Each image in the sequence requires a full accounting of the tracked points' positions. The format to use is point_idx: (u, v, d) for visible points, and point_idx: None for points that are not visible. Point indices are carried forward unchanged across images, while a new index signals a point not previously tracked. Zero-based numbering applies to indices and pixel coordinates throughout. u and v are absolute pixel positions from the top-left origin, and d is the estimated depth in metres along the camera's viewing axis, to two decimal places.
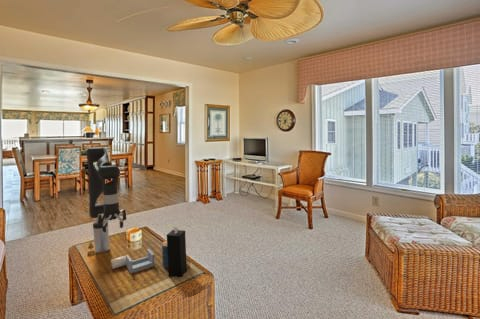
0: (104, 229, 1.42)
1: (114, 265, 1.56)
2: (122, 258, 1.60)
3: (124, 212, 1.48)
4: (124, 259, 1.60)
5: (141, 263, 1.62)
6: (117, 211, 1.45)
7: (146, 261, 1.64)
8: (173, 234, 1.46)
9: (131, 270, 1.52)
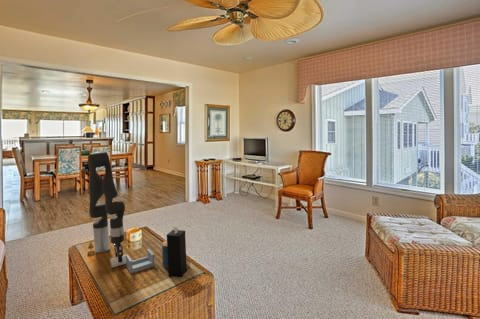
0: (121, 258, 1.57)
1: (113, 260, 1.58)
2: None
3: None
4: None
5: (141, 263, 1.62)
6: None
7: (146, 261, 1.64)
8: (173, 234, 1.46)
9: (131, 270, 1.52)
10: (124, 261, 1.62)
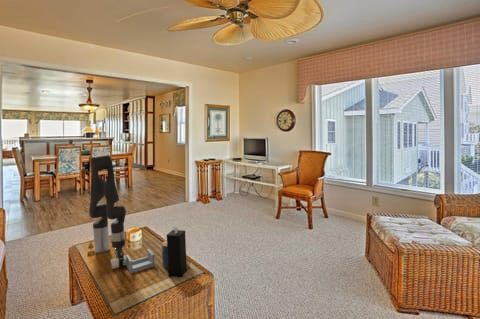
0: (122, 263, 1.58)
1: (113, 262, 1.56)
2: None
3: None
4: None
5: (141, 263, 1.62)
6: None
7: (146, 261, 1.64)
8: (173, 234, 1.46)
9: (131, 270, 1.52)
10: (125, 263, 1.60)
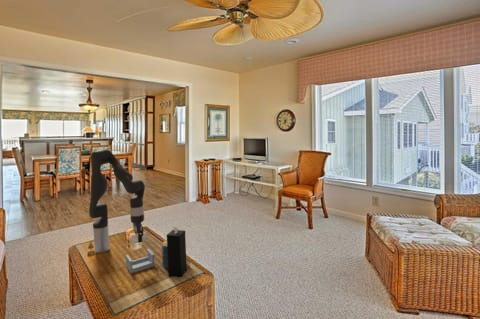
0: (141, 239, 1.56)
1: (133, 238, 1.54)
2: None
3: None
4: None
5: (141, 263, 1.62)
6: None
7: (146, 261, 1.64)
8: (173, 234, 1.46)
9: (131, 270, 1.52)
10: (144, 239, 1.58)
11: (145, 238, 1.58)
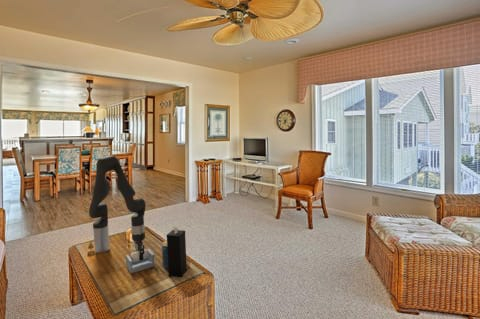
0: (142, 257, 1.57)
1: (134, 256, 1.55)
2: None
3: None
4: None
5: (141, 263, 1.62)
6: None
7: (146, 261, 1.64)
8: (173, 234, 1.46)
9: (131, 270, 1.52)
10: (145, 257, 1.59)
11: (146, 256, 1.59)
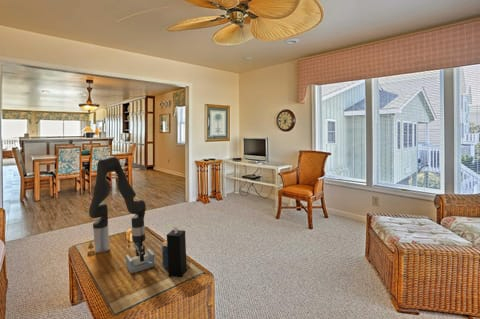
0: (143, 258, 1.56)
1: (134, 261, 1.56)
2: None
3: None
4: None
5: None
6: None
7: None
8: (173, 234, 1.46)
9: (131, 270, 1.52)
10: (145, 262, 1.59)
11: (146, 261, 1.60)
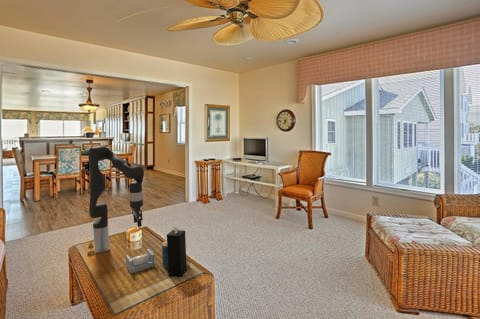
0: (141, 223, 1.57)
1: (134, 261, 1.56)
2: (141, 255, 1.60)
3: None
4: (143, 256, 1.60)
5: None
6: None
7: None
8: (173, 234, 1.46)
9: (131, 270, 1.52)
10: (145, 262, 1.59)
11: (146, 261, 1.60)
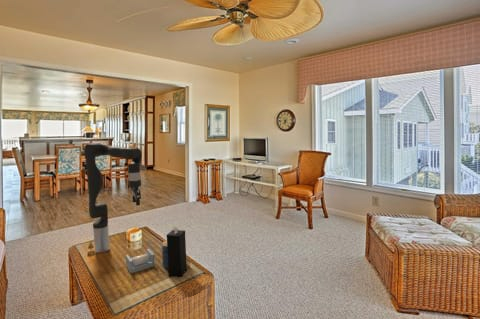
0: (139, 202, 1.65)
1: (134, 261, 1.56)
2: (141, 255, 1.60)
3: None
4: (143, 255, 1.60)
5: None
6: None
7: None
8: (173, 234, 1.46)
9: (131, 270, 1.52)
10: (145, 262, 1.59)
11: (146, 261, 1.60)
